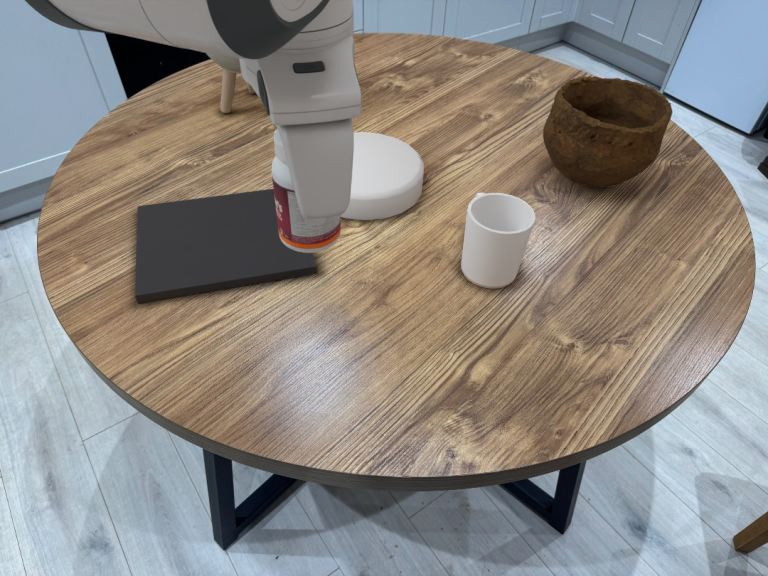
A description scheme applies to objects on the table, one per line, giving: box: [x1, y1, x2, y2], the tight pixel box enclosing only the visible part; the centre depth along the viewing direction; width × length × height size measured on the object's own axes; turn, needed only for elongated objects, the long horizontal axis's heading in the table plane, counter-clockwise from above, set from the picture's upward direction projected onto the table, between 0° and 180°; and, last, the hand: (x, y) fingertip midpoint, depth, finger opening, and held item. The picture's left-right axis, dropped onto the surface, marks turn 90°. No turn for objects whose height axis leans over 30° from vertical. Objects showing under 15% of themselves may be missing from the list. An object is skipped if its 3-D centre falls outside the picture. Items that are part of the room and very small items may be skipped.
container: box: [341, 131, 425, 221], centre depth 95 cm, size 20×20×5 cm
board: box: [134, 188, 318, 304], centre depth 84 cm, size 24×20×2 cm
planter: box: [205, 53, 256, 114], centre depth 107 cm, size 16×16×22 cm
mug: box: [460, 191, 536, 290], centre depth 79 cm, size 11×9×10 cm
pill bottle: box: [270, 128, 342, 254], centre depth 53 cm, size 6×6×11 cm
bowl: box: [542, 75, 673, 188], centre depth 95 cm, size 19×19×15 cm
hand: (307, 197), depth 54 cm, fingers closed on pill bottle, 6 cm apart
